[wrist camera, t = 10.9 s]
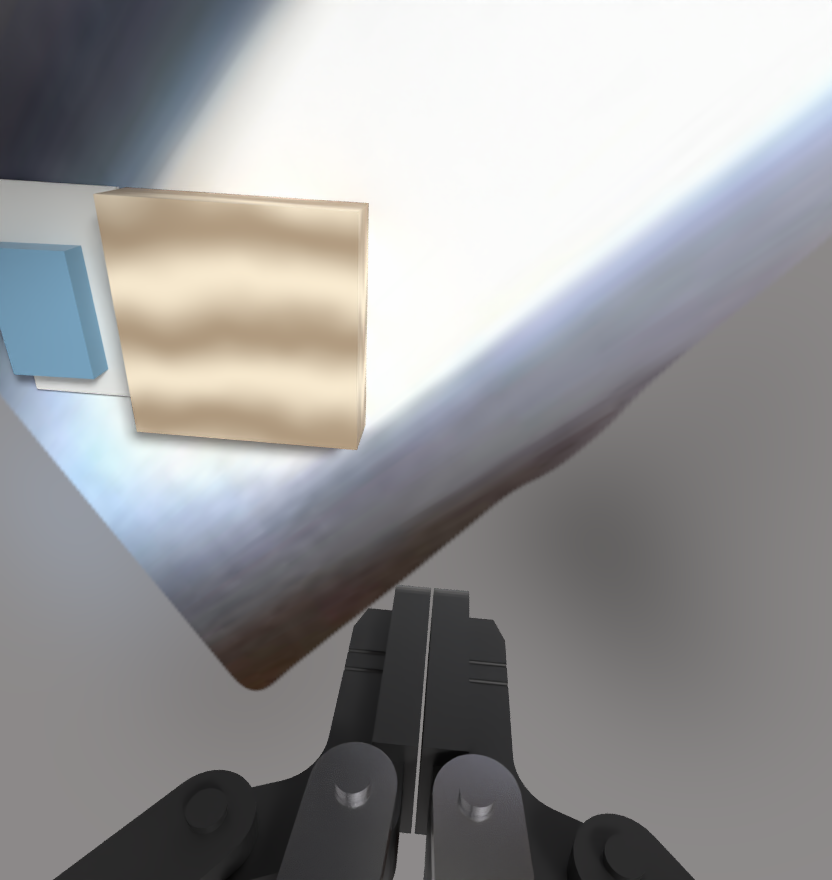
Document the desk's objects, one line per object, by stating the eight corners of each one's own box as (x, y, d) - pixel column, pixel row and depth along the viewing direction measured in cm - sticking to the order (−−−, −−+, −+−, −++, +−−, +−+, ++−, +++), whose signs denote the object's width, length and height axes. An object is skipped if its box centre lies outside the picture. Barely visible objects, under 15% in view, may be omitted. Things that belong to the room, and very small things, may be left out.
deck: (126, 187, 40) (92, 194, 36) (368, 203, 39) (358, 211, 36) (161, 408, 47) (136, 431, 44) (365, 424, 47) (356, 450, 43)
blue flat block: (63, 251, 40) (81, 245, 41) (-25, 246, 40) (-4, 241, 42) (93, 379, 44) (108, 369, 46) (14, 374, 44) (31, 364, 46)
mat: (-14, 178, 40) (-18, 178, 40) (118, 186, 40) (115, 187, 40) (40, 386, 47) (37, 388, 47) (153, 395, 47) (150, 398, 47)
